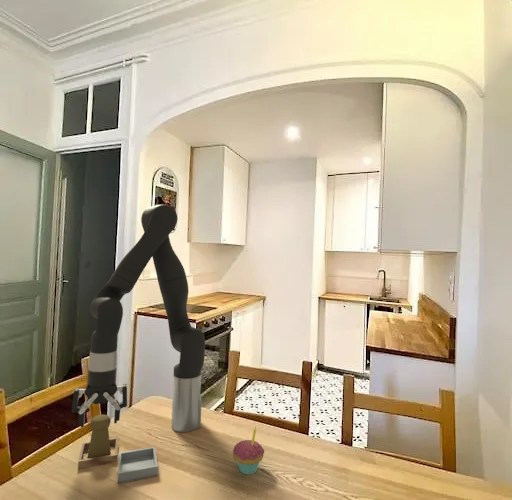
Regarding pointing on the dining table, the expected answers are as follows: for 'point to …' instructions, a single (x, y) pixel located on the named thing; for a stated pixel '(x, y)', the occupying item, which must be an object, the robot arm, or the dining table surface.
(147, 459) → the grey tray
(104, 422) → the olive pawn
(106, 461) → the walnut frame
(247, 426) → the dining table surface
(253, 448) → the cupcake
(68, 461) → the dining table surface
